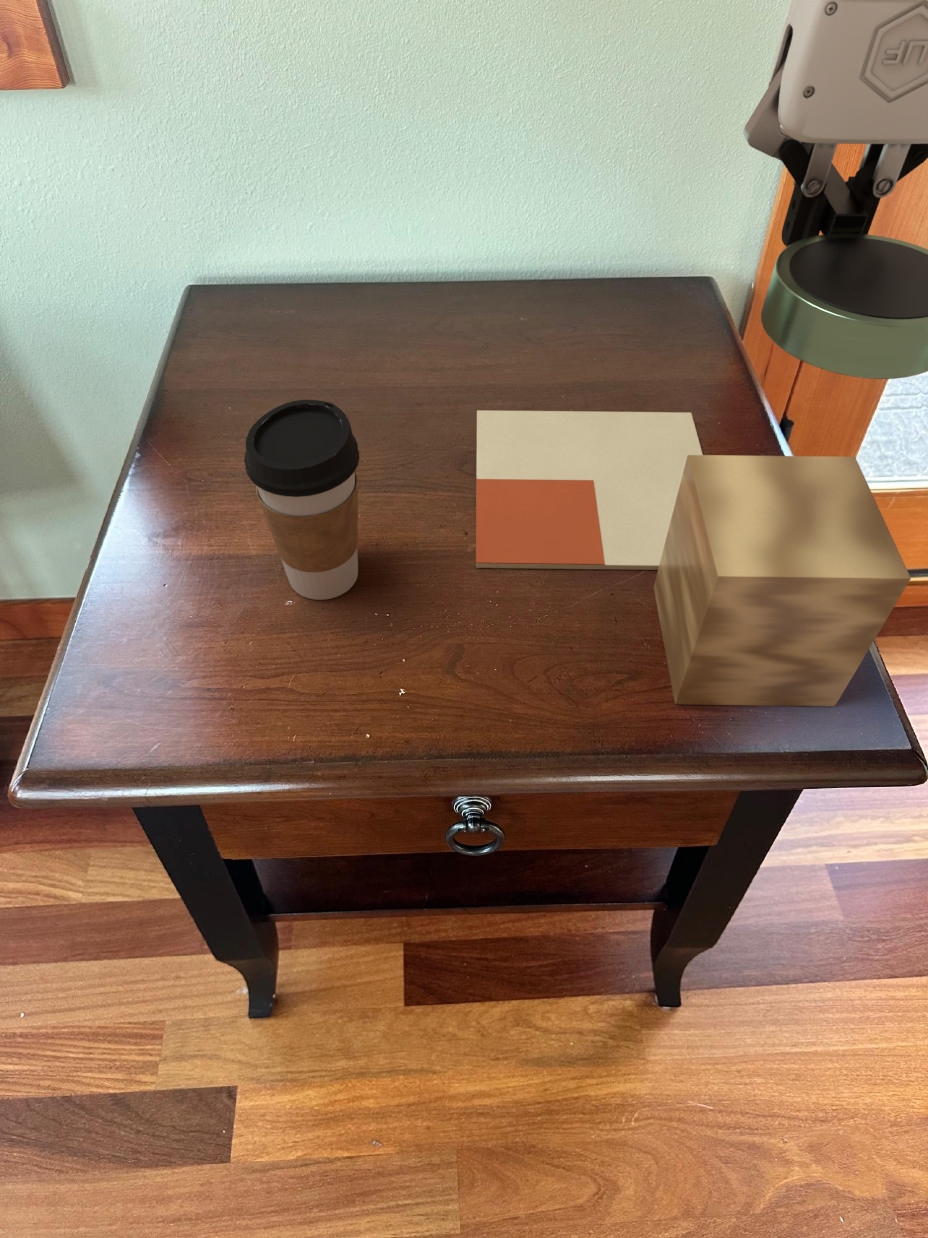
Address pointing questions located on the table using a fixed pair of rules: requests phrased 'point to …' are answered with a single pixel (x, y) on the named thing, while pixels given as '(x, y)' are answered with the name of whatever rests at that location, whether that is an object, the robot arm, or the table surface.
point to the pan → (850, 296)
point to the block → (773, 579)
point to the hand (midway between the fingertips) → (817, 253)
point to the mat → (578, 487)
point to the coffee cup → (308, 493)
